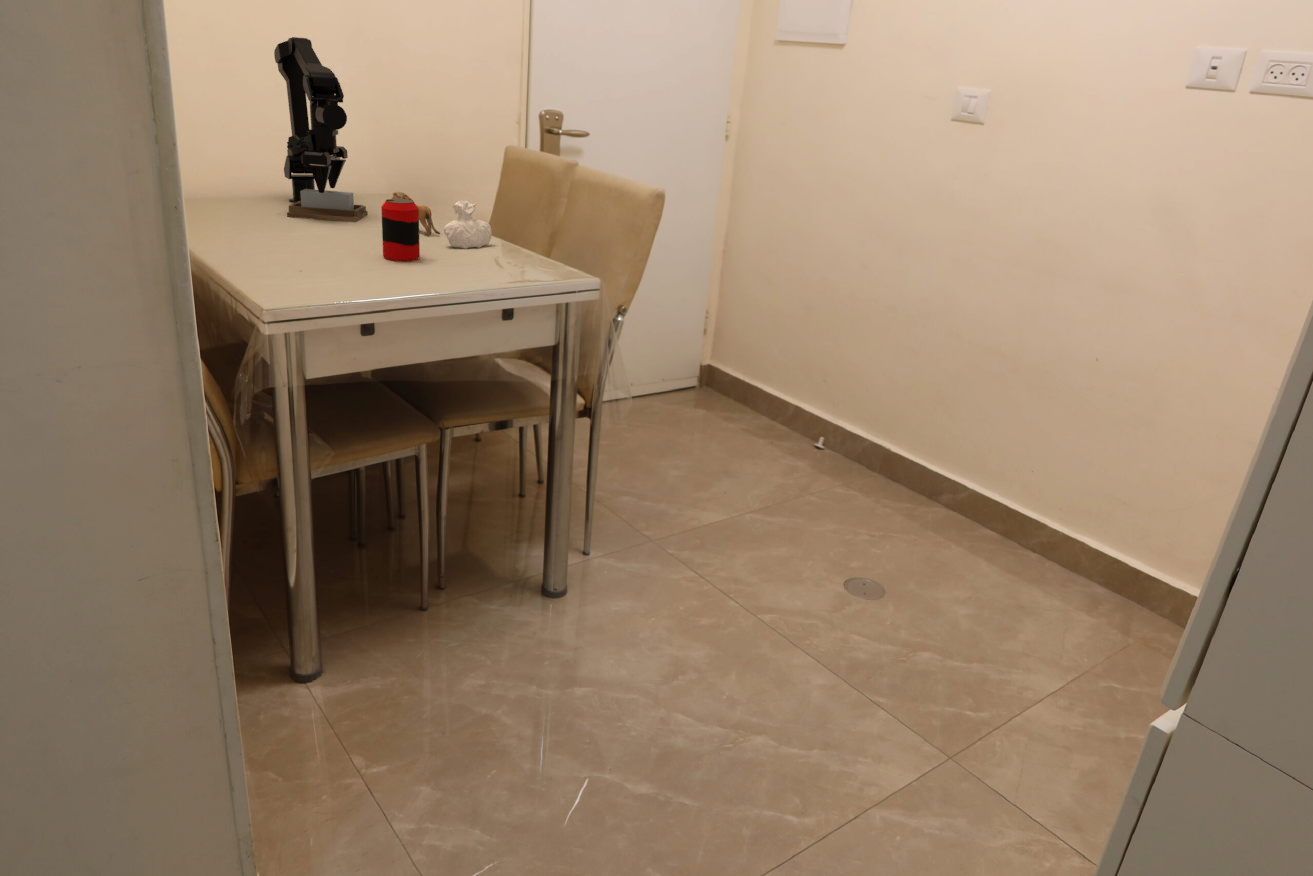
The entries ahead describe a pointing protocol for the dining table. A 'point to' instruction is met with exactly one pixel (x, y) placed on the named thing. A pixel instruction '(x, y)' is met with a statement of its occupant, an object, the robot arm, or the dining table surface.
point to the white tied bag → (467, 228)
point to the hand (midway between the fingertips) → (327, 190)
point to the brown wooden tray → (327, 213)
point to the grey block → (327, 199)
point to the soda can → (400, 230)
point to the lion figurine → (420, 213)
